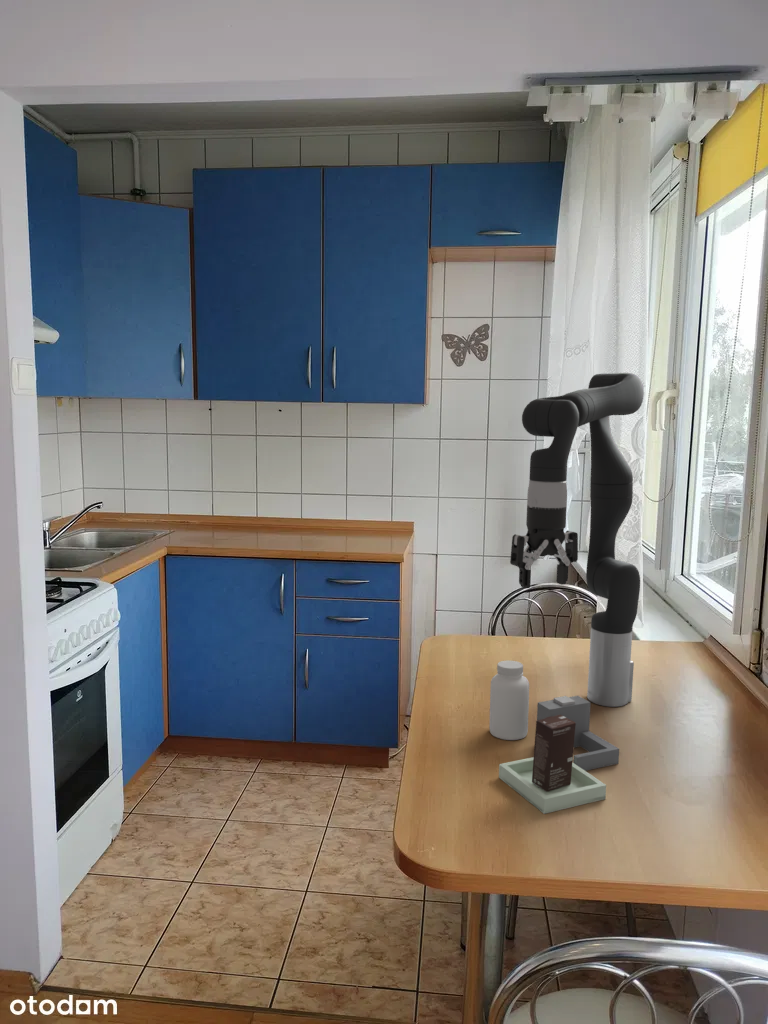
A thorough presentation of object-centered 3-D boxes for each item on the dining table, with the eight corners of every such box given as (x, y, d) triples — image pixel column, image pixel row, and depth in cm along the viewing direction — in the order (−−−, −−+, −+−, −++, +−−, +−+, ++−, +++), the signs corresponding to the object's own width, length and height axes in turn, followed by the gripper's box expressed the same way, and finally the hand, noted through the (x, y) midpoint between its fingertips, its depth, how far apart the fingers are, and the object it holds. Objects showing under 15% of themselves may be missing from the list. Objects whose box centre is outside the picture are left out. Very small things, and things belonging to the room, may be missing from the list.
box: (548, 793, 138) (551, 728, 136) (531, 783, 142) (533, 719, 140) (573, 785, 141) (576, 721, 140) (555, 775, 145) (558, 712, 143)
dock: (575, 737, 163) (578, 692, 162) (618, 763, 152) (621, 715, 150) (535, 744, 159) (537, 699, 158) (576, 772, 147) (578, 723, 146)
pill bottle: (481, 728, 167) (484, 660, 165) (514, 723, 170) (516, 656, 168) (501, 743, 160) (504, 672, 157) (535, 737, 163) (538, 667, 161)
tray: (556, 765, 150) (557, 752, 150) (605, 799, 138) (606, 785, 137) (498, 777, 145) (499, 764, 145) (543, 813, 133) (544, 799, 132)
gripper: (564, 499, 159) (561, 578, 161) (504, 502, 153) (502, 584, 155) (589, 504, 152) (584, 586, 154) (527, 507, 146) (523, 593, 148)
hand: (543, 585), depth 155 cm, fingers open, 8 cm apart
